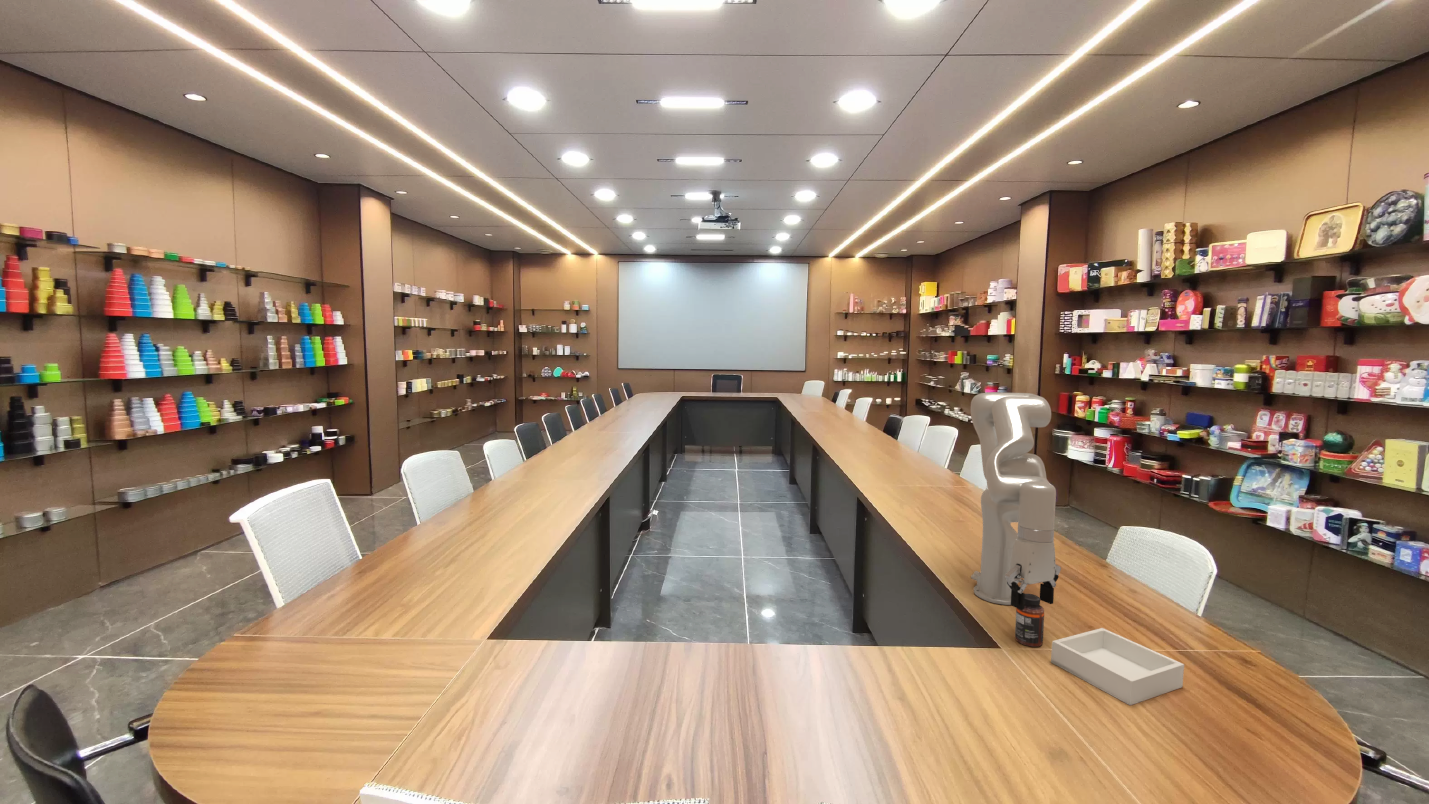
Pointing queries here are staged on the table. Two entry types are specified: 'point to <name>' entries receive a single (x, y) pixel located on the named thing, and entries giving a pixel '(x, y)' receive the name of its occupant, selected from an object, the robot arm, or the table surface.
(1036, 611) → the supplement bottle
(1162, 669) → the tray
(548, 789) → the table surface
